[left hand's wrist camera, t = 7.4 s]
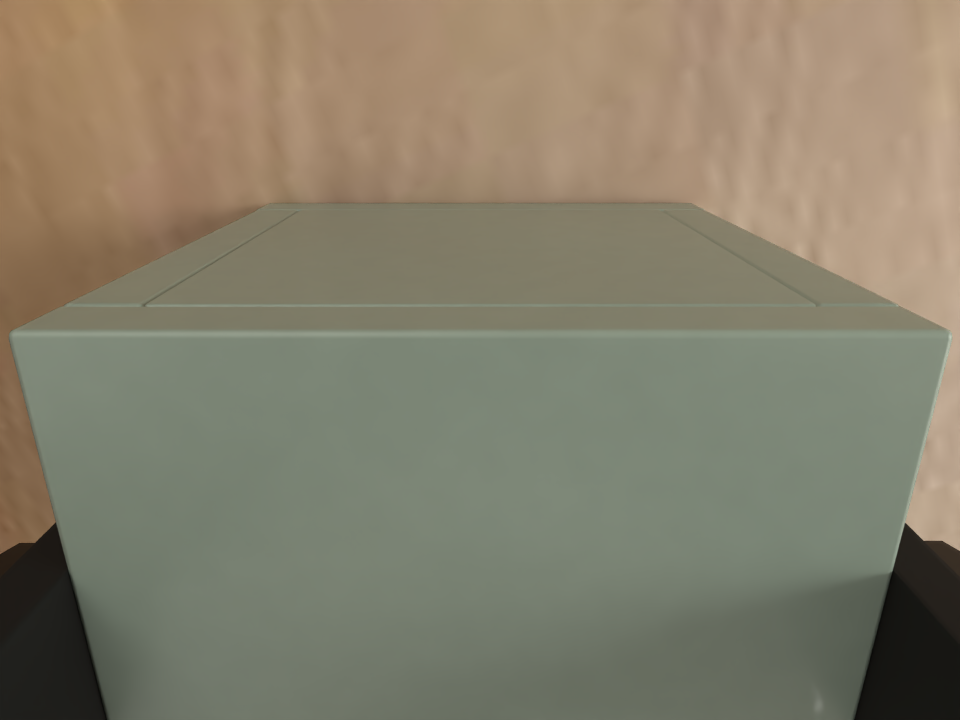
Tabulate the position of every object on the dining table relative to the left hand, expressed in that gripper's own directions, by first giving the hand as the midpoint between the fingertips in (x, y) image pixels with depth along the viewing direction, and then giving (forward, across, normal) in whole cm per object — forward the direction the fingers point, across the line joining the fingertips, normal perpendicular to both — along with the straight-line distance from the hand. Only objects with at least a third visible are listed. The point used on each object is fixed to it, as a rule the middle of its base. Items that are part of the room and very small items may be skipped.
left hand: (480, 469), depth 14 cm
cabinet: (+5, 0, -6) cm, 8 cm away
